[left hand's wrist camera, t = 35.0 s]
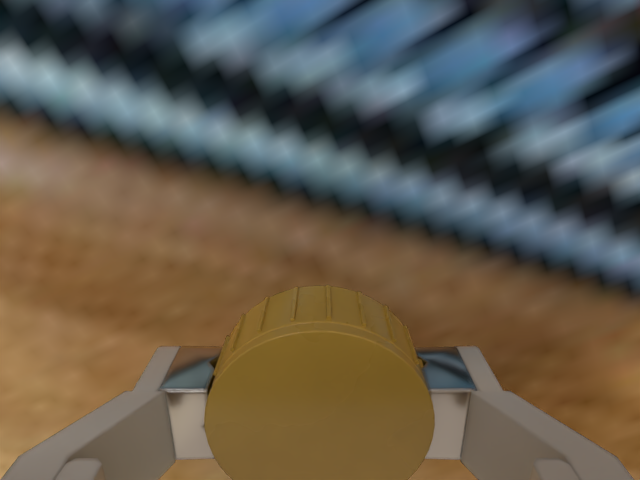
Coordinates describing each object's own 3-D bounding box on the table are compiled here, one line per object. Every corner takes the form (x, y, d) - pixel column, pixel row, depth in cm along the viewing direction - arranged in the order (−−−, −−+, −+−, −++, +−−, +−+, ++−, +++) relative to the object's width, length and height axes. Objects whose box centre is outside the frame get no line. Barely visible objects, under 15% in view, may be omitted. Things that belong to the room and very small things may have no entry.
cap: (392, 257, 9) (408, 299, 8) (437, 423, 11) (458, 488, 9) (190, 313, 10) (162, 363, 8) (260, 463, 11) (250, 532, 10)
